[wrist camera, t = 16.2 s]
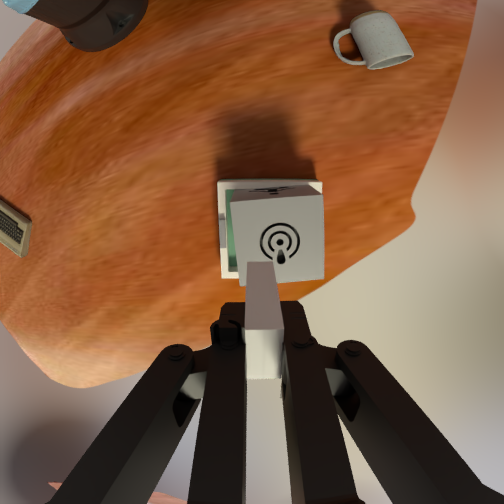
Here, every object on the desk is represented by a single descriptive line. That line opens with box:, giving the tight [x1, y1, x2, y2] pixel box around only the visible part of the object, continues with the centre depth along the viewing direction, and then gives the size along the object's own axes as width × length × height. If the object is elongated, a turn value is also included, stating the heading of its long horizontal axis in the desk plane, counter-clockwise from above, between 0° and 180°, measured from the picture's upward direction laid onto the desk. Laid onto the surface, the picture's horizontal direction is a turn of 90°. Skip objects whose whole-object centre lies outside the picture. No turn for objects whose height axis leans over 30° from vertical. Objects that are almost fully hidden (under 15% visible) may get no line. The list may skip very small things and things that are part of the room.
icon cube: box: [230, 185, 324, 286], centre depth 37 cm, size 10×10×10 cm
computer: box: [0, 200, 32, 258], centre depth 41 cm, size 16×8×3 cm, turn 61°
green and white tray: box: [217, 180, 322, 278], centre depth 40 cm, size 14×14×3 cm
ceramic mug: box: [333, 10, 414, 69], centre depth 29 cm, size 11×8×8 cm
